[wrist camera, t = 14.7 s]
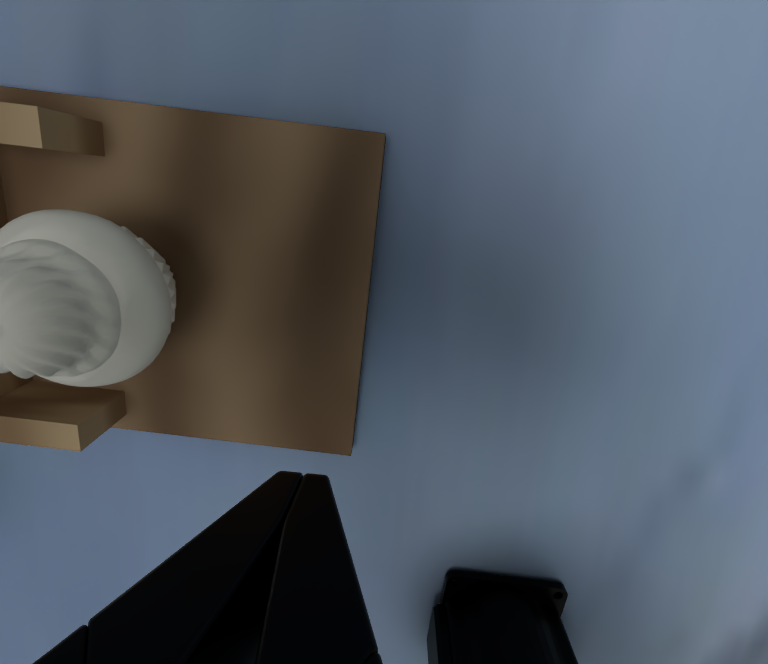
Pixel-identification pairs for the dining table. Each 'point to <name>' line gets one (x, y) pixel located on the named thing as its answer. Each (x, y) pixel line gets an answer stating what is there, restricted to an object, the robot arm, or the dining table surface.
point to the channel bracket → (208, 266)
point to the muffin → (80, 299)
